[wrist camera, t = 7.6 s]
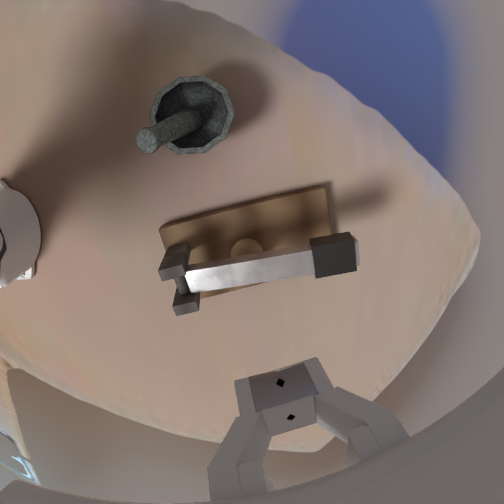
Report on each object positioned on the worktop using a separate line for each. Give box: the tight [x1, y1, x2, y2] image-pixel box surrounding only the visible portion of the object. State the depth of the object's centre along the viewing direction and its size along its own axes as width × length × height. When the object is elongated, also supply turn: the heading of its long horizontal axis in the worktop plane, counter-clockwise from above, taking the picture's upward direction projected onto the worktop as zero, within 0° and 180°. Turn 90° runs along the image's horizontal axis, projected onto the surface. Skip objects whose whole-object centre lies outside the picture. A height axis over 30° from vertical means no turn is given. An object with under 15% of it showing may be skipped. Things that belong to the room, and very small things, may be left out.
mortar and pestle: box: [136, 76, 235, 154], centre depth 29 cm, size 11×9×12 cm
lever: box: [185, 232, 360, 293], centre depth 33 cm, size 21×4×3 cm, turn 103°
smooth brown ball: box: [231, 238, 263, 257], centre depth 38 cm, size 4×4×4 cm
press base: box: [158, 186, 331, 316], centre depth 37 cm, size 24×12×10 cm, turn 103°
